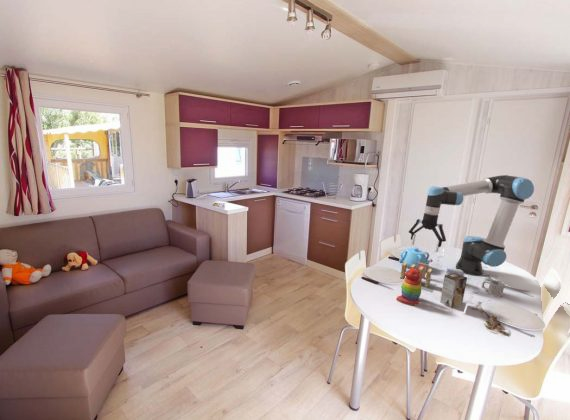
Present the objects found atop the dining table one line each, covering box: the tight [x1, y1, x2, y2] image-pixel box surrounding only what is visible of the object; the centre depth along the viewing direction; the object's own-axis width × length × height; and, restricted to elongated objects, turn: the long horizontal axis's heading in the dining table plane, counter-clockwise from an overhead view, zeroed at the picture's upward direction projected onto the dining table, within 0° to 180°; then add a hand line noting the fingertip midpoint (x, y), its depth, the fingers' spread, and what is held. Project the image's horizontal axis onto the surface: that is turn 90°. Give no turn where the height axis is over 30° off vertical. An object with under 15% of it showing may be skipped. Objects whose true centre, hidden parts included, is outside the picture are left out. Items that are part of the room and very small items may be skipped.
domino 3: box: [418, 266, 424, 283], centre depth 172 cm, size 2×5×10 cm, turn 143°
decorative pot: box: [398, 246, 430, 270], centre depth 198 cm, size 16×16×14 cm
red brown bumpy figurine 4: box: [400, 262, 408, 279], centre depth 177 cm, size 2×5×10 cm, turn 143°
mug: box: [481, 279, 506, 298], centre depth 169 cm, size 10×7×7 cm
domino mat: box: [421, 280, 437, 293], centre depth 176 cm, size 26×12×1 cm, turn 53°
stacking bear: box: [395, 268, 422, 306], centre depth 154 cm, size 11×10×18 cm
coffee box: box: [439, 273, 468, 309], centre depth 152 cm, size 9×6×16 cm
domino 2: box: [417, 262, 428, 280], centre depth 181 cm, size 2×5×10 cm, turn 53°
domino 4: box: [424, 267, 433, 288], centre depth 170 cm, size 2×5×10 cm, turn 143°
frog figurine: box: [484, 315, 512, 337], centre depth 136 cm, size 12×12×4 cm
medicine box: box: [445, 268, 465, 276], centre depth 177 cm, size 8×4×9 cm, turn 84°
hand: (424, 248), depth 177 cm, fingers open, 13 cm apart
